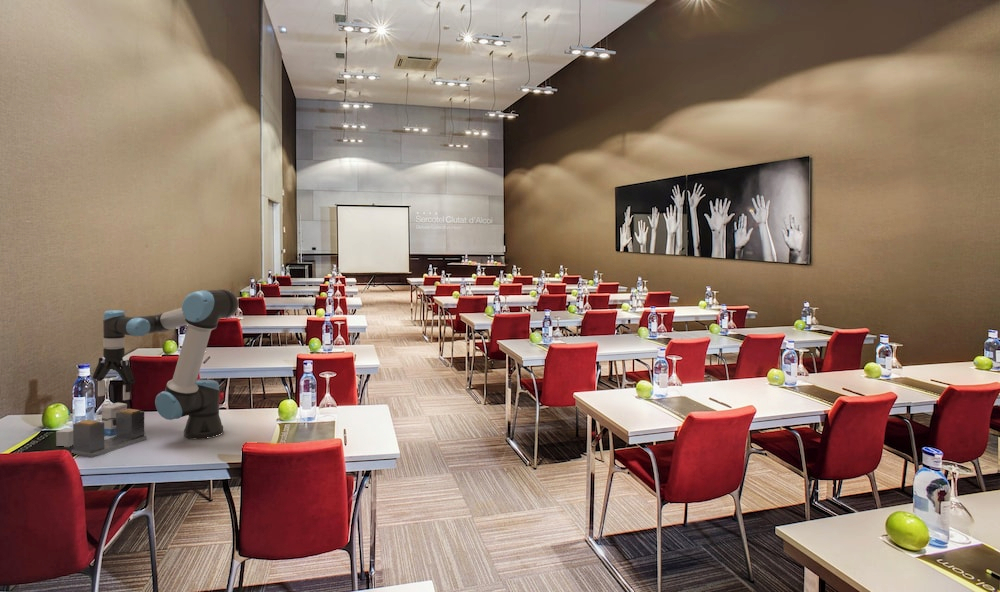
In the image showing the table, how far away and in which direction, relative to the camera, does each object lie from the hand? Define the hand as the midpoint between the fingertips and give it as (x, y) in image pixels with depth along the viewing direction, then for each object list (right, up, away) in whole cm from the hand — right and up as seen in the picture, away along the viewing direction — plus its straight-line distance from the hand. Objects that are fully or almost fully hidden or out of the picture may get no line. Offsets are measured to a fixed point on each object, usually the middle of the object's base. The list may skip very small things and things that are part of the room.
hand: (113, 397), depth 258 cm
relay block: (-8, -16, -17) cm, 24 cm away
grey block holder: (+9, -16, -17) cm, 25 cm away
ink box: (0, -15, +1) cm, 15 cm away
